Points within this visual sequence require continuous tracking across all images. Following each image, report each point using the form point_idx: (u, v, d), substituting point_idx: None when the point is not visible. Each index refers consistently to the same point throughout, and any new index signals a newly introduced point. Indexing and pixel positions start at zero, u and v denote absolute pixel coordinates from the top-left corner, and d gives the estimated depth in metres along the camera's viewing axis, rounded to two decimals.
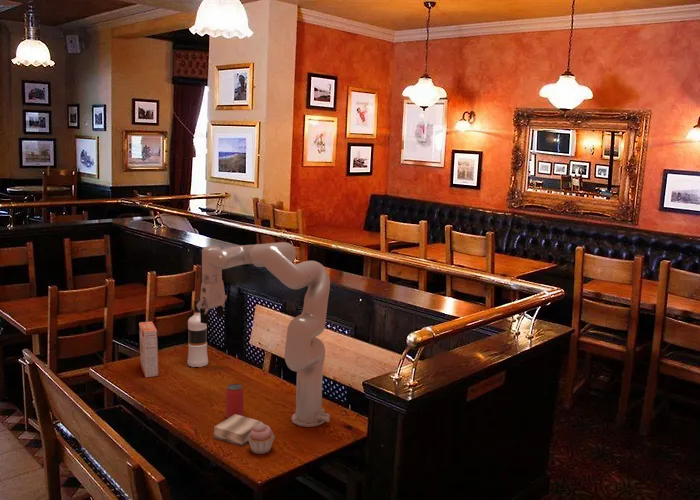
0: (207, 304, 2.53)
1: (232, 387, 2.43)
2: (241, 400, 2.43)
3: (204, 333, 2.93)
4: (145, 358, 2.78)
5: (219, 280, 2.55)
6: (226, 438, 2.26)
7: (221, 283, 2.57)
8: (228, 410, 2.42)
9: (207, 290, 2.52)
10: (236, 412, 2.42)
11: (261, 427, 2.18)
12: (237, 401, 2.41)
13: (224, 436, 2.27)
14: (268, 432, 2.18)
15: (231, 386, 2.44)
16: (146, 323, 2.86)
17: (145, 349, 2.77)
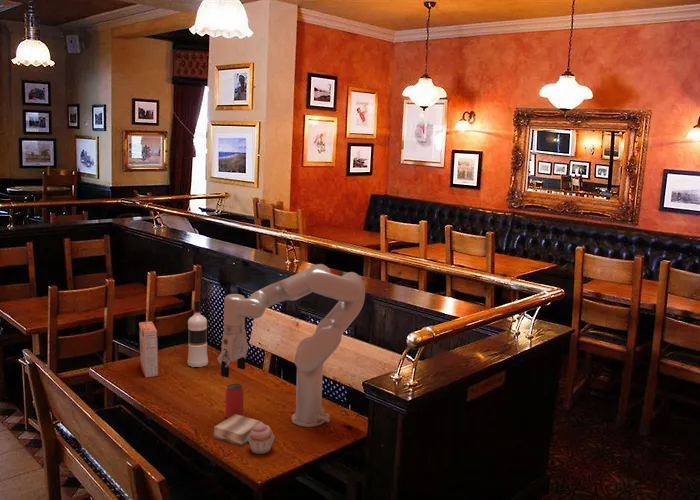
0: (229, 357, 2.36)
1: (232, 387, 2.43)
2: (241, 400, 2.43)
3: (204, 333, 2.93)
4: (145, 358, 2.78)
5: (242, 331, 2.38)
6: (226, 438, 2.26)
7: (243, 334, 2.41)
8: (228, 410, 2.42)
9: (229, 342, 2.35)
10: (236, 412, 2.42)
11: (261, 427, 2.18)
12: (237, 401, 2.41)
13: (224, 436, 2.27)
14: (268, 432, 2.18)
15: (231, 386, 2.44)
16: (146, 323, 2.86)
17: (145, 349, 2.77)
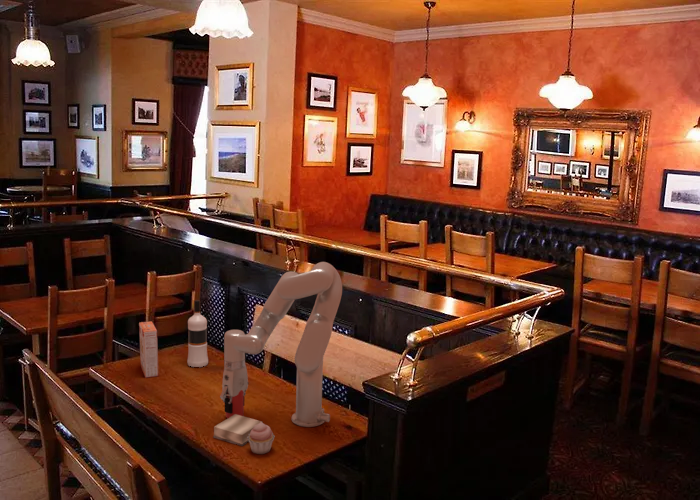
0: (230, 392, 2.38)
1: None
2: (241, 400, 2.43)
3: (204, 333, 2.93)
4: (145, 358, 2.78)
5: (242, 366, 2.40)
6: (226, 438, 2.26)
7: (244, 369, 2.43)
8: None
9: (230, 378, 2.38)
10: (236, 412, 2.42)
11: (261, 427, 2.18)
12: (237, 401, 2.41)
13: (224, 436, 2.27)
14: (268, 432, 2.18)
15: None
16: (146, 323, 2.86)
17: (145, 349, 2.77)
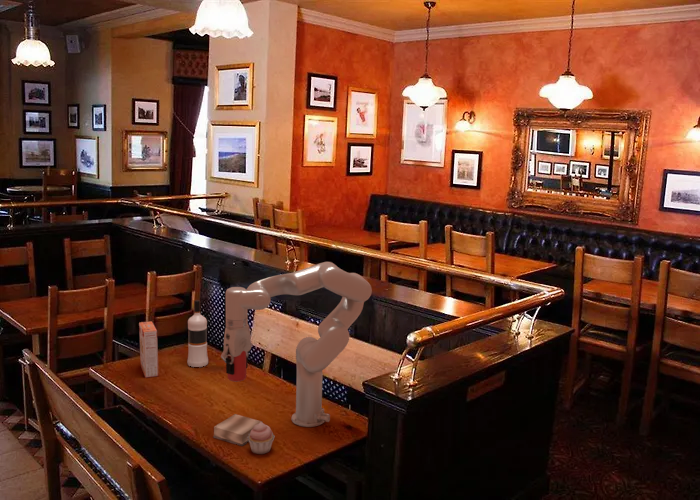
0: (231, 352, 2.27)
1: None
2: (243, 361, 2.32)
3: (204, 333, 2.93)
4: (145, 358, 2.78)
5: (244, 325, 2.29)
6: (226, 438, 2.26)
7: (246, 328, 2.32)
8: None
9: (232, 336, 2.26)
10: (238, 373, 2.31)
11: (261, 427, 2.18)
12: (239, 361, 2.30)
13: (224, 436, 2.27)
14: (268, 432, 2.18)
15: None
16: (146, 323, 2.86)
17: (145, 349, 2.77)
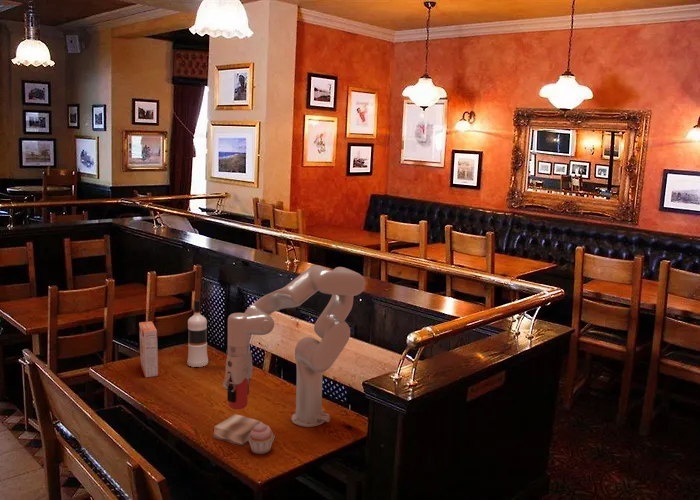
0: (233, 380, 2.22)
1: None
2: (245, 388, 2.27)
3: (204, 333, 2.93)
4: (145, 358, 2.78)
5: (247, 352, 2.24)
6: (226, 438, 2.26)
7: (248, 355, 2.27)
8: None
9: (234, 364, 2.21)
10: (240, 401, 2.26)
11: (261, 427, 2.18)
12: (241, 389, 2.25)
13: (224, 436, 2.27)
14: (268, 432, 2.18)
15: None
16: (146, 323, 2.86)
17: (145, 349, 2.77)
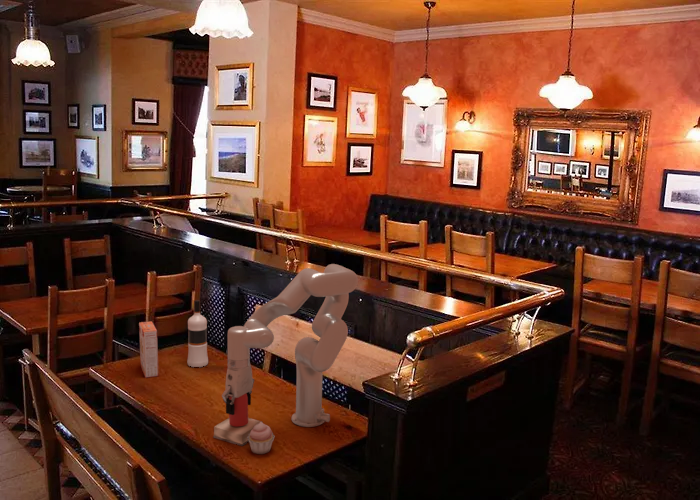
0: (233, 393, 2.23)
1: None
2: (245, 406, 2.28)
3: (204, 333, 2.93)
4: (145, 358, 2.78)
5: (247, 365, 2.25)
6: (226, 438, 2.26)
7: (248, 368, 2.28)
8: (232, 417, 2.27)
9: (234, 377, 2.22)
10: (240, 418, 2.27)
11: (261, 427, 2.18)
12: (241, 407, 2.27)
13: (224, 436, 2.27)
14: (268, 432, 2.18)
15: None
16: (146, 323, 2.86)
17: (145, 349, 2.77)
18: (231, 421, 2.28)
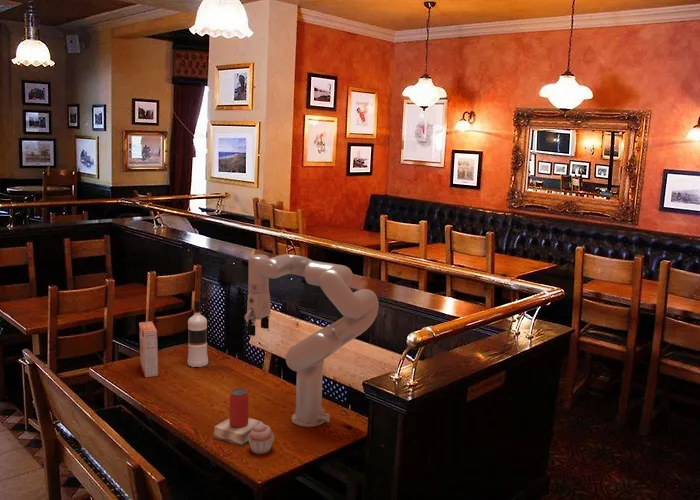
0: (255, 315, 2.41)
1: (236, 393, 2.28)
2: (246, 406, 2.28)
3: (204, 333, 2.93)
4: (145, 358, 2.78)
5: (267, 290, 2.44)
6: (226, 438, 2.26)
7: (267, 293, 2.46)
8: (232, 417, 2.27)
9: (255, 300, 2.41)
10: (240, 419, 2.27)
11: (261, 427, 2.18)
12: (241, 407, 2.27)
13: (224, 436, 2.27)
14: (268, 432, 2.18)
15: (235, 391, 2.29)
16: (146, 323, 2.86)
17: (145, 349, 2.77)
18: (231, 421, 2.28)
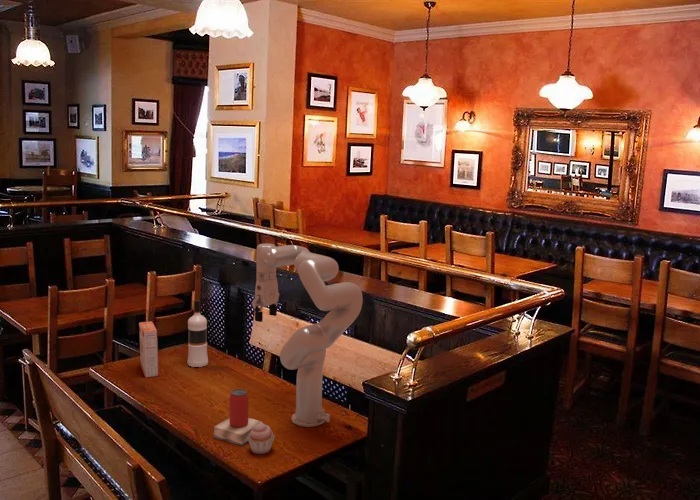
0: (262, 302, 2.50)
1: (236, 393, 2.28)
2: (246, 406, 2.28)
3: (204, 333, 2.93)
4: (145, 358, 2.78)
5: (274, 278, 2.52)
6: (226, 438, 2.26)
7: (275, 281, 2.55)
8: (232, 417, 2.27)
9: (263, 287, 2.50)
10: (240, 419, 2.27)
11: (261, 427, 2.18)
12: (241, 407, 2.27)
13: (224, 436, 2.27)
14: (268, 432, 2.18)
15: (235, 391, 2.29)
16: (146, 323, 2.86)
17: (145, 349, 2.77)
18: (231, 421, 2.28)
